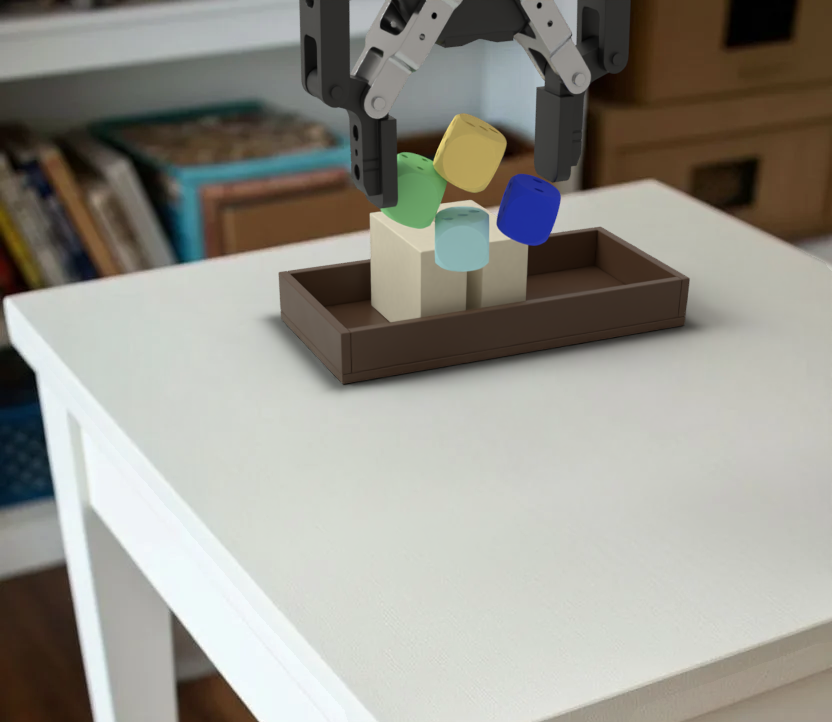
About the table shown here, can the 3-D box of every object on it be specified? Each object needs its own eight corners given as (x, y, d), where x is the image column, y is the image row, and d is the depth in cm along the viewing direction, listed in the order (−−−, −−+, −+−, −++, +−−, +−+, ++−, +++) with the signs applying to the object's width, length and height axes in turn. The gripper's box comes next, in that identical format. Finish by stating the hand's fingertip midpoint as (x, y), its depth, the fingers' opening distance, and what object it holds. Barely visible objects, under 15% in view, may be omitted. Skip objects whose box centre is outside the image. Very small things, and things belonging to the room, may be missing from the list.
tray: (597, 270, 96) (600, 226, 94) (685, 325, 88) (690, 278, 86) (280, 318, 88) (278, 271, 87) (342, 384, 80) (340, 333, 78)
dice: (556, 251, 63) (562, 106, 60) (559, 271, 61) (565, 122, 58) (382, 252, 64) (377, 108, 60) (378, 272, 61) (374, 123, 58)
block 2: (469, 290, 91) (471, 199, 88) (524, 332, 85) (529, 236, 82) (427, 296, 90) (428, 204, 87) (480, 340, 84) (483, 242, 81)
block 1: (413, 299, 90) (413, 206, 86) (465, 342, 84) (467, 245, 80) (370, 305, 89) (369, 212, 85) (420, 350, 83) (420, 251, 79)
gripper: (588, -256, 57) (569, 150, 66) (257, -246, 52) (285, 189, 61) (689, -252, 51) (653, 192, 60) (327, -241, 46) (347, 239, 55)
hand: (467, 190), depth 61 cm, fingers closed on dice, 8 cm apart
